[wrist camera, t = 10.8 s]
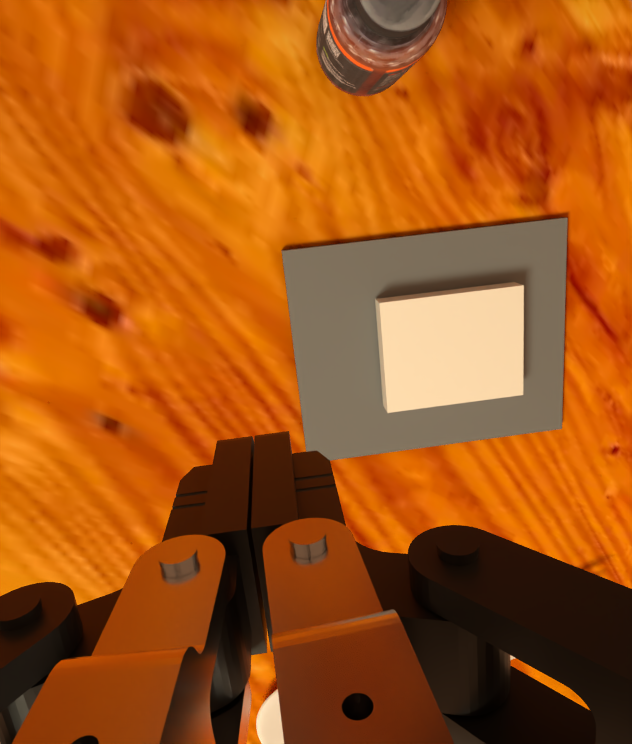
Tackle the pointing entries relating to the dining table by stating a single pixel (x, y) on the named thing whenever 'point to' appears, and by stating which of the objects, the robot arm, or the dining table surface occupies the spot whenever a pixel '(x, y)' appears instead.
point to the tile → (451, 346)
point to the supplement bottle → (375, 40)
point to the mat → (414, 276)
